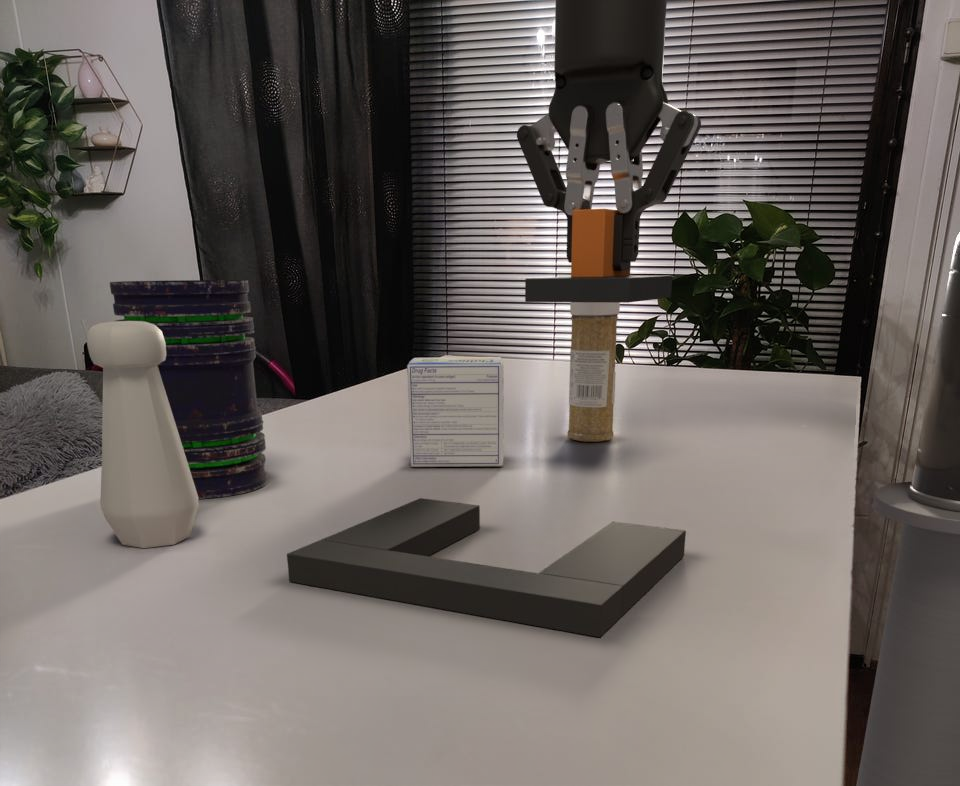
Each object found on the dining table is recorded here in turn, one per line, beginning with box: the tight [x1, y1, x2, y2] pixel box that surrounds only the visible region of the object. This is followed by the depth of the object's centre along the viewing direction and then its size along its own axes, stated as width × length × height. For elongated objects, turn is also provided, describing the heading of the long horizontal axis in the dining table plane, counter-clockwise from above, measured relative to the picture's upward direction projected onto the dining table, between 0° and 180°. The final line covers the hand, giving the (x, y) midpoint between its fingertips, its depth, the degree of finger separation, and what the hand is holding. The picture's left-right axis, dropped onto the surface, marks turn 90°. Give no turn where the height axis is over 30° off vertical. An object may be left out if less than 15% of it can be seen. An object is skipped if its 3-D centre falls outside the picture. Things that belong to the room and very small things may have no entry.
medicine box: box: [406, 356, 505, 468], centre depth 77 cm, size 8×4×9 cm, turn 88°
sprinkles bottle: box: [567, 302, 621, 443], centre depth 86 cm, size 5×5×14 cm
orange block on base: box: [524, 208, 673, 304], centre depth 68 cm, size 10×8×6 cm
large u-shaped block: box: [286, 497, 687, 638], centre depth 51 cm, size 14×18×2 cm
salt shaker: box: [86, 320, 199, 549], centre depth 55 cm, size 6×6×13 cm
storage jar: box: [109, 279, 268, 500], centre depth 69 cm, size 10×10×15 cm
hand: (601, 269), depth 68 cm, fingers closed on orange block on base, 2 cm apart
